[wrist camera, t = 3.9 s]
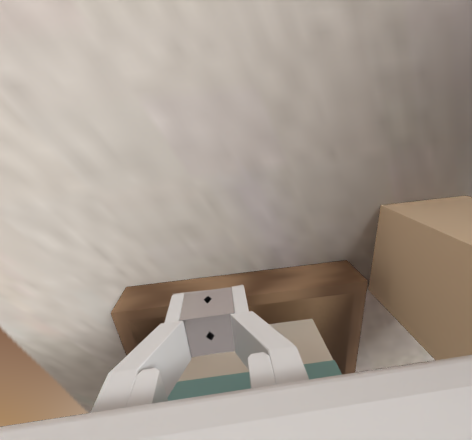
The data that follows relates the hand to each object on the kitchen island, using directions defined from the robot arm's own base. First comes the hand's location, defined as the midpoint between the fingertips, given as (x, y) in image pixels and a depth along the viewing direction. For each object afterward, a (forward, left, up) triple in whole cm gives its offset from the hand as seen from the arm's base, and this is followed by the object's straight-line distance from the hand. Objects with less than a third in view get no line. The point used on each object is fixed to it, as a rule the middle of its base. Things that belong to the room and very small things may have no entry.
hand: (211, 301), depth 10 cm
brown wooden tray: (-1, +9, -6) cm, 11 cm away
